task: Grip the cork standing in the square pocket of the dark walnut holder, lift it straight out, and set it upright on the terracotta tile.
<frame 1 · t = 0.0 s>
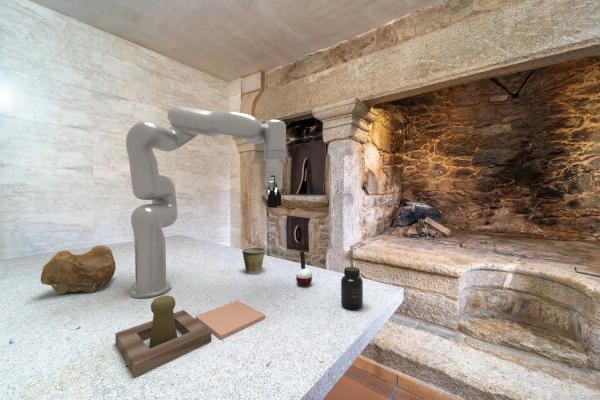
hand: (274, 206, 87), 31 cm above the countertop, tool pointing down, fingers open, 9 cm apart
supplement bottle: (351, 306, 80), on the countertop
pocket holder: (163, 342, 60), on the countertop
terracotta tile: (230, 318, 71), on the countertop
ceramic cup: (254, 270, 114), on the countertop
cork: (163, 343, 60), resting in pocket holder
rough brown rock: (88, 288, 93), on the countertop
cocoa: (304, 285, 98), on the countertop
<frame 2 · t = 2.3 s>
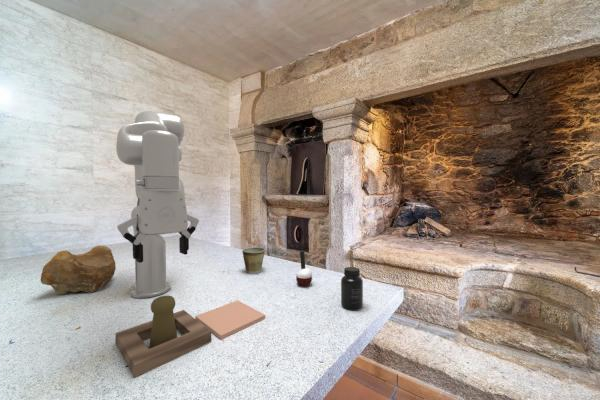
hand: (162, 257, 59), 21 cm above the countertop, tool pointing down, fingers open, 9 cm apart
nothing on the countertop moved.
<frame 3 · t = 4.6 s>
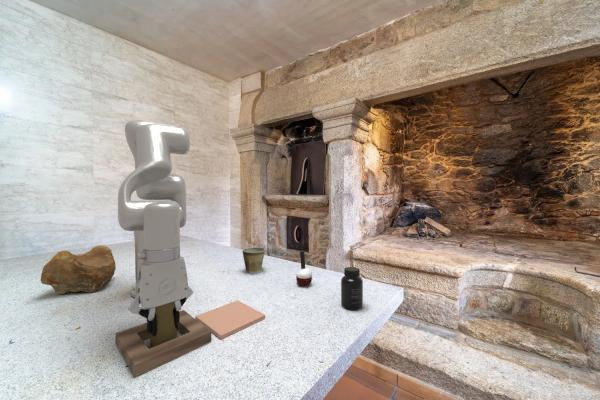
hand: (163, 328, 60), 3 cm above the countertop, tool pointing down, fingers closed on cork, 4 cm apart
cork: (164, 343, 60), resting in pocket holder, touching gripper
everything else where it was.
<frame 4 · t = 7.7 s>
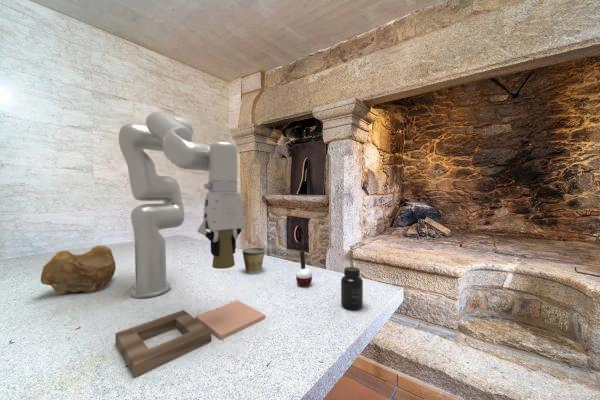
hand: (223, 253, 69), 19 cm above the countertop, tool pointing down, fingers closed on cork, 4 cm apart
cork: (223, 266, 69), point 16 cm above the countertop, touching gripper
everything else where it was.
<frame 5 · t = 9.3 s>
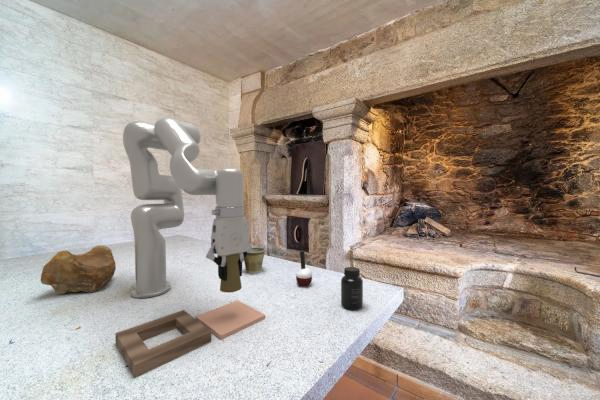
hand: (230, 276, 71), 12 cm above the countertop, tool pointing down, fingers closed on cork, 4 cm apart
cork: (230, 288, 71), point 9 cm above the countertop, touching gripper
everything else where it was.
when the fingers open (6 cm above the countertop, at t = 10.8 s): cork drops 1 cm, resting on terracotta tile.
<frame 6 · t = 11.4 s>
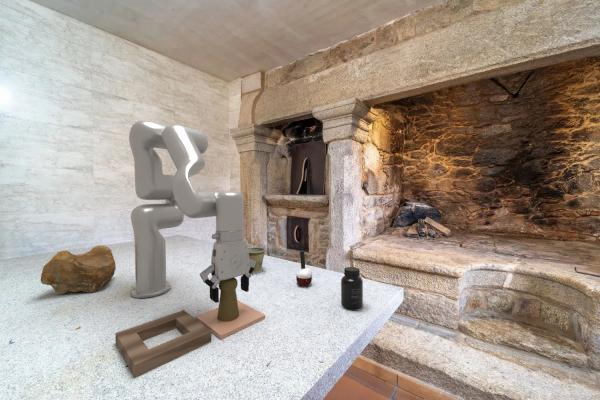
hand: (230, 295, 71), 7 cm above the countertop, tool pointing down, fingers open, 9 cm apart
cork: (228, 316, 71), point 1 cm above the countertop, touching terracotta tile
everything else where it was.
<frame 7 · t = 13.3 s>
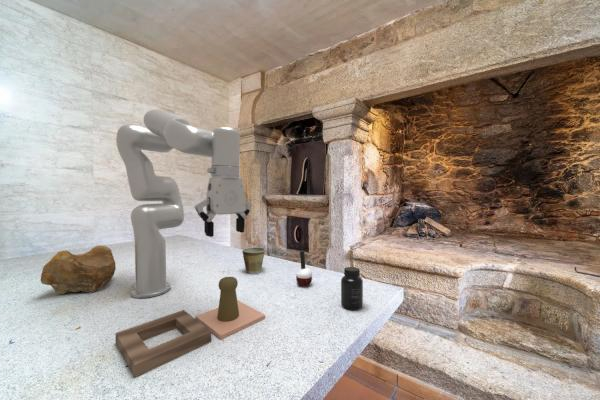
hand: (225, 233, 71), 24 cm above the countertop, tool pointing down, fingers open, 9 cm apart
nothing on the countertop moved.
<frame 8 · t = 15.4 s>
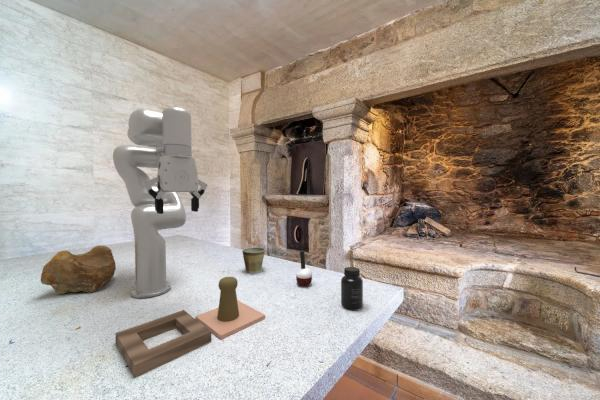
hand: (178, 212, 72), 30 cm above the countertop, tool pointing down, fingers open, 9 cm apart
nothing on the countertop moved.
at the end: cork inside the target area on the terracotta tile (0.6 cm from its centre), point 0.8 cm above the terracotta tile's base; cork tilted 0°; the gripper is holding nothing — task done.
